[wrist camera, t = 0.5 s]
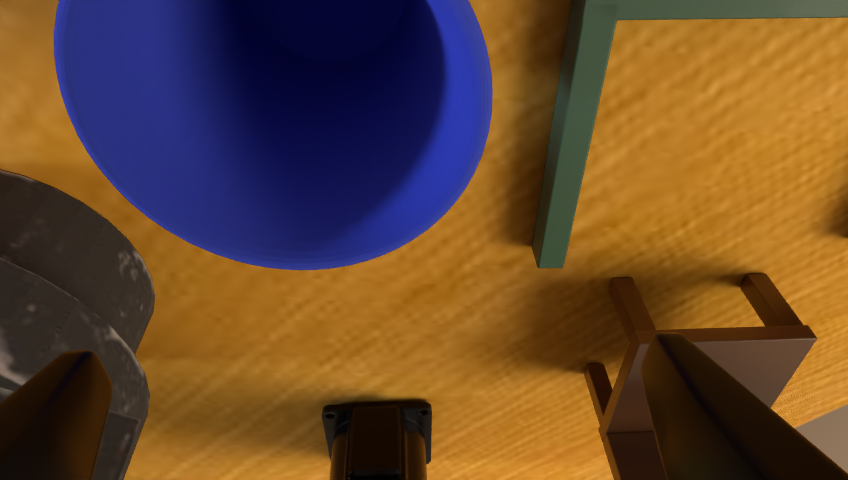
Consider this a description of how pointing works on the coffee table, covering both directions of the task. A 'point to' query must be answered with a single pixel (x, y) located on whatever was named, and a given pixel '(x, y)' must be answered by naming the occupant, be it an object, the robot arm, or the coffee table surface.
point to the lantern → (73, 303)
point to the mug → (280, 118)
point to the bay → (582, 84)
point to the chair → (729, 347)
